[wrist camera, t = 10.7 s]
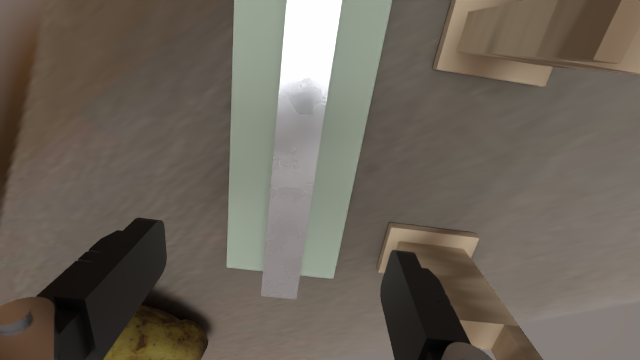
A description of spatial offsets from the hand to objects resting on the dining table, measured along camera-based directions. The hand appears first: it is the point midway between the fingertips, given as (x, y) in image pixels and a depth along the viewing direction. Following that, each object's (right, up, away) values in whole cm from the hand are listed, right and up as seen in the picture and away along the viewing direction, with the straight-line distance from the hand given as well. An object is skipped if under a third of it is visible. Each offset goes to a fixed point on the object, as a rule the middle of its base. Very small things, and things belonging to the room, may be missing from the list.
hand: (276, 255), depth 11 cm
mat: (0, +6, +13) cm, 14 cm away
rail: (0, +6, +12) cm, 14 cm away
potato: (-16, -10, +20) cm, 28 cm away
